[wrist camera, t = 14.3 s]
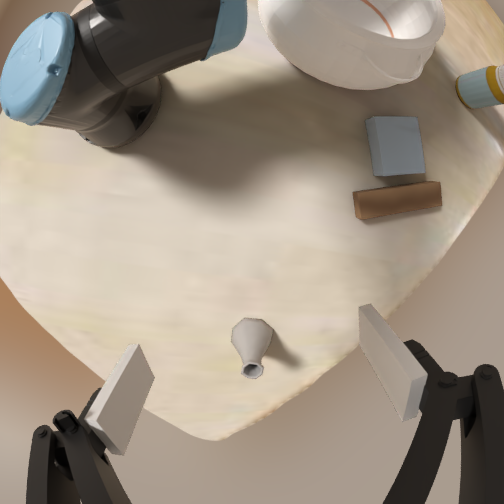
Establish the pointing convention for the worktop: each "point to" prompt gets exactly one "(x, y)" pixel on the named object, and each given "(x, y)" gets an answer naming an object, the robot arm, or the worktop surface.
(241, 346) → the flask
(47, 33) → the robot arm
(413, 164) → the slab
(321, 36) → the pot
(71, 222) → the worktop surface
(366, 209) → the block
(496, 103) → the bottle
